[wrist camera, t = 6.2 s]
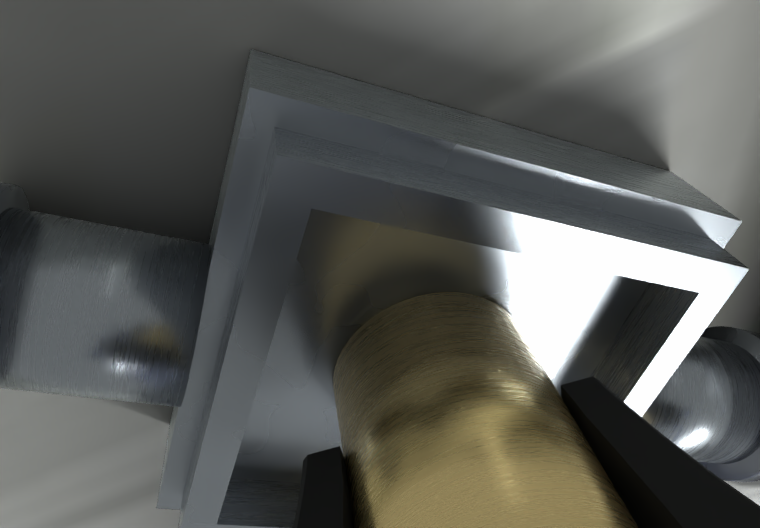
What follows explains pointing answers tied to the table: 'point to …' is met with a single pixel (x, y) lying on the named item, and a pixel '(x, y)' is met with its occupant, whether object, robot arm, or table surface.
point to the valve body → (376, 285)
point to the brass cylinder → (461, 425)
